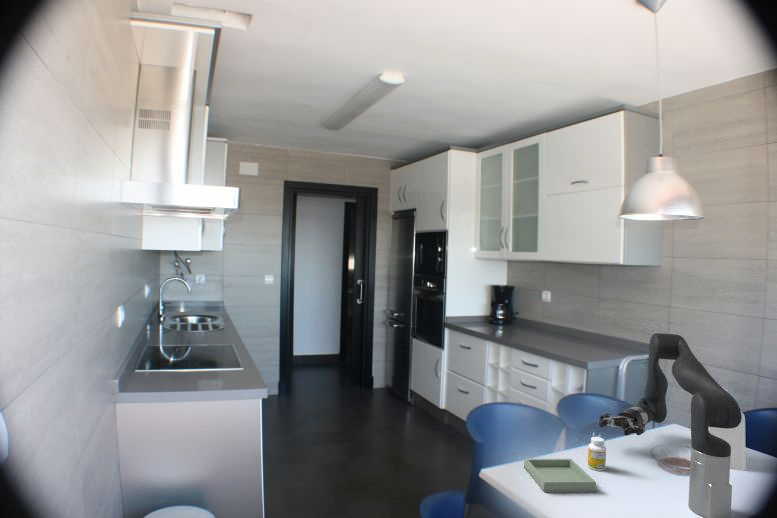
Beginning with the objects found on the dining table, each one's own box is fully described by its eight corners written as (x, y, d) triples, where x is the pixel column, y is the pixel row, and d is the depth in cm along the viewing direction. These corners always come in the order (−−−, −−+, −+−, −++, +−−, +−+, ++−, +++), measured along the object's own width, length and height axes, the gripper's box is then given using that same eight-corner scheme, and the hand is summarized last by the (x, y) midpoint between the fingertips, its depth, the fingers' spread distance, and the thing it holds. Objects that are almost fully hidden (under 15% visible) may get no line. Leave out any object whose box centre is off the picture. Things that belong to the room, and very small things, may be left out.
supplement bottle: (590, 462, 163) (591, 434, 163) (607, 467, 159) (608, 438, 159) (585, 467, 159) (586, 438, 159) (602, 473, 155) (603, 443, 155)
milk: (745, 470, 161) (749, 394, 160) (706, 465, 164) (710, 390, 163) (730, 456, 172) (733, 385, 172) (694, 451, 175) (697, 381, 175)
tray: (595, 492, 142) (595, 482, 142) (543, 492, 141) (544, 482, 141) (570, 467, 158) (570, 458, 158) (523, 467, 157) (524, 458, 157)
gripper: (614, 403, 182) (593, 411, 172) (654, 414, 171) (634, 424, 161) (613, 422, 182) (592, 432, 172) (652, 435, 171) (633, 446, 161)
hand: (612, 428), depth 166 cm, fingers open, 8 cm apart
